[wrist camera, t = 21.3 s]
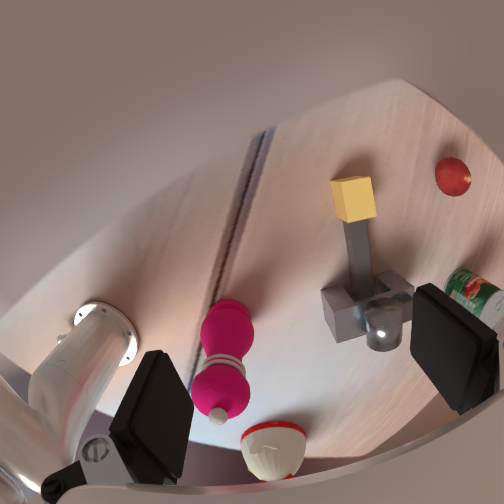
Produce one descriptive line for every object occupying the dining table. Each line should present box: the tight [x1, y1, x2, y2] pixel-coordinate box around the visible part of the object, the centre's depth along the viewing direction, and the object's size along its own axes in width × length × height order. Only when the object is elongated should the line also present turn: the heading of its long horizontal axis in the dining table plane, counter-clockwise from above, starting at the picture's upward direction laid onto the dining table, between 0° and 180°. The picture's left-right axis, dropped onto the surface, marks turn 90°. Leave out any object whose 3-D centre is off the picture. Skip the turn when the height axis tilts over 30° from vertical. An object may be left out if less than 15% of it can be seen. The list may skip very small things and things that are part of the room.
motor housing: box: [321, 270, 414, 352], centre depth 34 cm, size 12×5×12 cm, turn 104°
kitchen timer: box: [241, 421, 306, 483], centre depth 42 cm, size 14×14×15 cm
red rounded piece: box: [435, 157, 471, 197], centre depth 31 cm, size 6×6×8 cm
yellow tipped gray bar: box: [330, 176, 376, 302], centre depth 35 cm, size 4×20×5 cm, turn 14°
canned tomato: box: [443, 268, 504, 330], centre depth 35 cm, size 8×8×11 cm
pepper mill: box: [191, 300, 254, 425], centre depth 31 cm, size 7×7×20 cm
